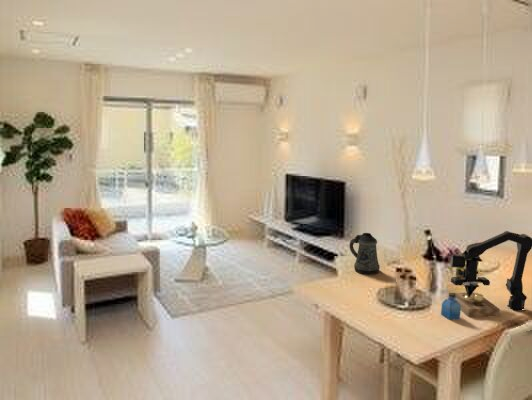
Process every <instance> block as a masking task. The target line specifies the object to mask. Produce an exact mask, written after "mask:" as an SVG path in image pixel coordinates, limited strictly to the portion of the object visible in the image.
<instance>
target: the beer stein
mask: <svg viewBox="0 0 532 400" xmlns="http://www.w3.org/2000/svg"><path fill="white" fill-rule="evenodd" d="M354 244H358V248H357V249H358V250H357V251H356V250H355V248H354ZM377 244H378V240H377V238H375V237H374V236H373V235H372V234H371V233H370V232H363V233H362V234H357V235H356V236H355V237H354V238H352V239H351V240H350V242H349V244H348V245H349V250H350V252H351V254H352V256H354V257H355V258H356V260H355V263H354V265H353V267H354V271H355V272H356V273H358V274H362V275H367V276H368V275H372V276H373V275H377V274H379V271H380V267H381V266H380V264H379V259H378V251H377V250H378V249H377Z"/></svg>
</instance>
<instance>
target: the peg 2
mask: <svg viewBox="0 0 532 400" xmlns="http://www.w3.org/2000/svg"><path fill="white" fill-rule="evenodd" d="M483 297H484V295H483V294H481V293H478V294H475V297H474V302H475V303H478V304H482V303H483Z"/></svg>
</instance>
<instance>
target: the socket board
mask: <svg viewBox="0 0 532 400" xmlns="http://www.w3.org/2000/svg"><path fill="white" fill-rule="evenodd" d="M454 293H455V294H456V295H455V296H456V299H455V300H456V301H458V302H459V304H460V306H461V311H460V312H462V313H463V314H464V315H465V316H467V317H471V318H472V317H473V318H474V317H479V318H480V317H483V318H484V317H486V318H487V317H488V316H499V317H500V312H501V308H499V307H498V306H497V305H495V304H493V302H491V301H490V300H489V299H487V298H486V297H484V296H483V303H482V304H478V303H475V302H474V297H475V294H479V293H478V292H473V293H472V294H471V296H472V297H473V299H466V298H465V297H464V296H465V295H467V292H454ZM447 299H449V298H447ZM488 318H489V317H488Z"/></svg>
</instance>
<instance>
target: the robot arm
mask: <svg viewBox="0 0 532 400" xmlns="http://www.w3.org/2000/svg"><path fill="white" fill-rule="evenodd" d="M508 241H511V242H514V243H516V249H517V252H516V256H515V262H514V266H513V270H512V274H511V277H510V278H506V284H505V286H506V290H507V291H508V292H509V295H510V296H509V299H508V304H507V307H508V308H509V307H510V309H511V310H512V309H513V310H512V311H514V310H522V309H525V304H526V303H525V302H526V301H527V298H528V297H527V295H526V294H525V293H524V291H523V290H524V289H523V287H524V286H523V285H524V284H523V274H524V271H525V265H526V262H527V257H528V253H529V252H530V251H531V250H532V237H531V236H529V235H528V234H525V233H520V234H519V233H515V232H512V231H511V232H510V231H508V230H505V231H503V232H502V233H500V234H498V235H495V236H492V237H490V238H488V239H486V240H484V241H481V242H474V243H471V244H468V245H466V248H465V250H464V251H463V252H462V253H461V254H460V255H459V254H454V253H453V254H451V257H450V261H449V265H450V267H451V268H459V269H456V276H452V277H451V278H450V283H452V284H453V285H455V286H464V288H465V293H467V296H468V297H470V296H471V294H472V293H475V290H476V289H477V288H479V287H480V286H479V284H482V285H483V286H490V285H491V281H490V279H488V278H487V277H485V276H478V277H477V275H478V274H479V272H478V267H479V266H478V265H479V262H480V263H481V262H483V259H482V257H480V256H481V255H483V254H484V253H485V252H486V251H487V250H489V249H491V248H494V247H496V246H498V245H501V244H503V243H505V242H508ZM462 268H463V270H462Z"/></svg>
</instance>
